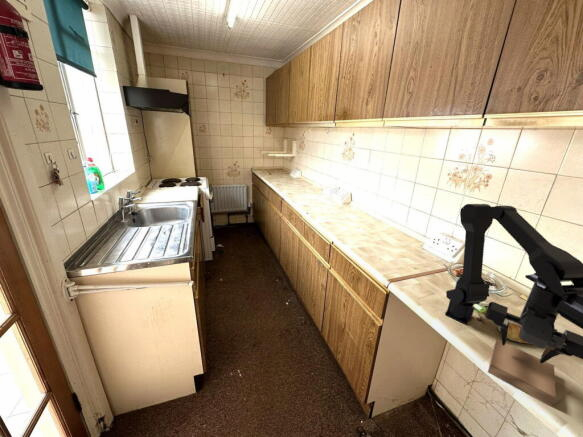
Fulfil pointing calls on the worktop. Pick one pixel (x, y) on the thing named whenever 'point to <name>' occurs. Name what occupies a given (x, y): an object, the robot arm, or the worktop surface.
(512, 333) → the pastry
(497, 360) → the walnut base
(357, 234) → the worktop surface
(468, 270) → the robot arm
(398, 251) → the worktop surface
